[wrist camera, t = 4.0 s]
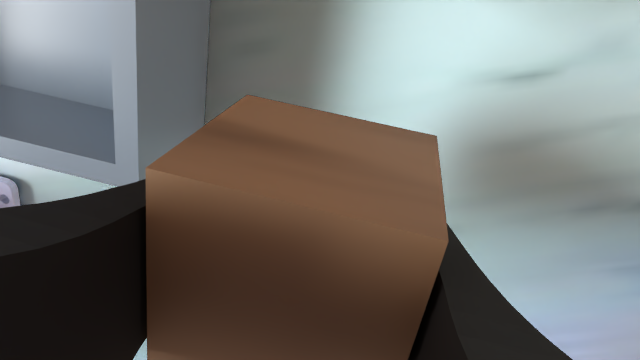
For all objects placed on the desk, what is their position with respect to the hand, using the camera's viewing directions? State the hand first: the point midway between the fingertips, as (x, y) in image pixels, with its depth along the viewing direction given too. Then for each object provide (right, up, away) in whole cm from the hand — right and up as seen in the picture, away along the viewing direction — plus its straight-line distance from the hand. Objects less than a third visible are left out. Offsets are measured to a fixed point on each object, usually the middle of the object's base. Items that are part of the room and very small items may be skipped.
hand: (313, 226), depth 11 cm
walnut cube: (0, +1, +1) cm, 2 cm away
